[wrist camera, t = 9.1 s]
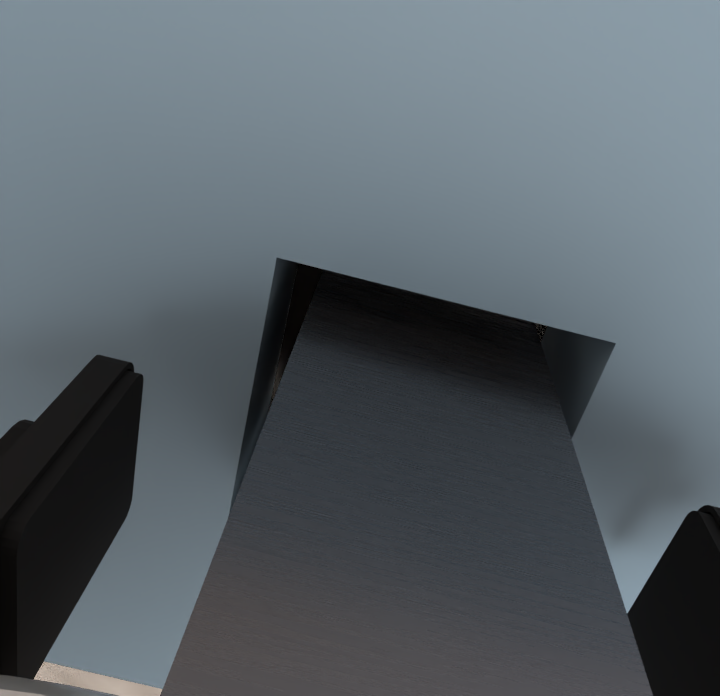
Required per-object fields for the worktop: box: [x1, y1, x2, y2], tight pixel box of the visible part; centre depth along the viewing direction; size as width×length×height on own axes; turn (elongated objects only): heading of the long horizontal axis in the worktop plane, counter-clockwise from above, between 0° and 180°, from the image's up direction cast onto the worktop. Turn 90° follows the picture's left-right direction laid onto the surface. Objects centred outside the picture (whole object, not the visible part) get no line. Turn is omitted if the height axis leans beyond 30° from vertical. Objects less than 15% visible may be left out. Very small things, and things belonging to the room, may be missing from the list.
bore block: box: [0, 0, 720, 689], centre depth 15 cm, size 18×18×4 cm
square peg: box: [160, 269, 653, 696], centre depth 11 cm, size 4×4×12 cm
